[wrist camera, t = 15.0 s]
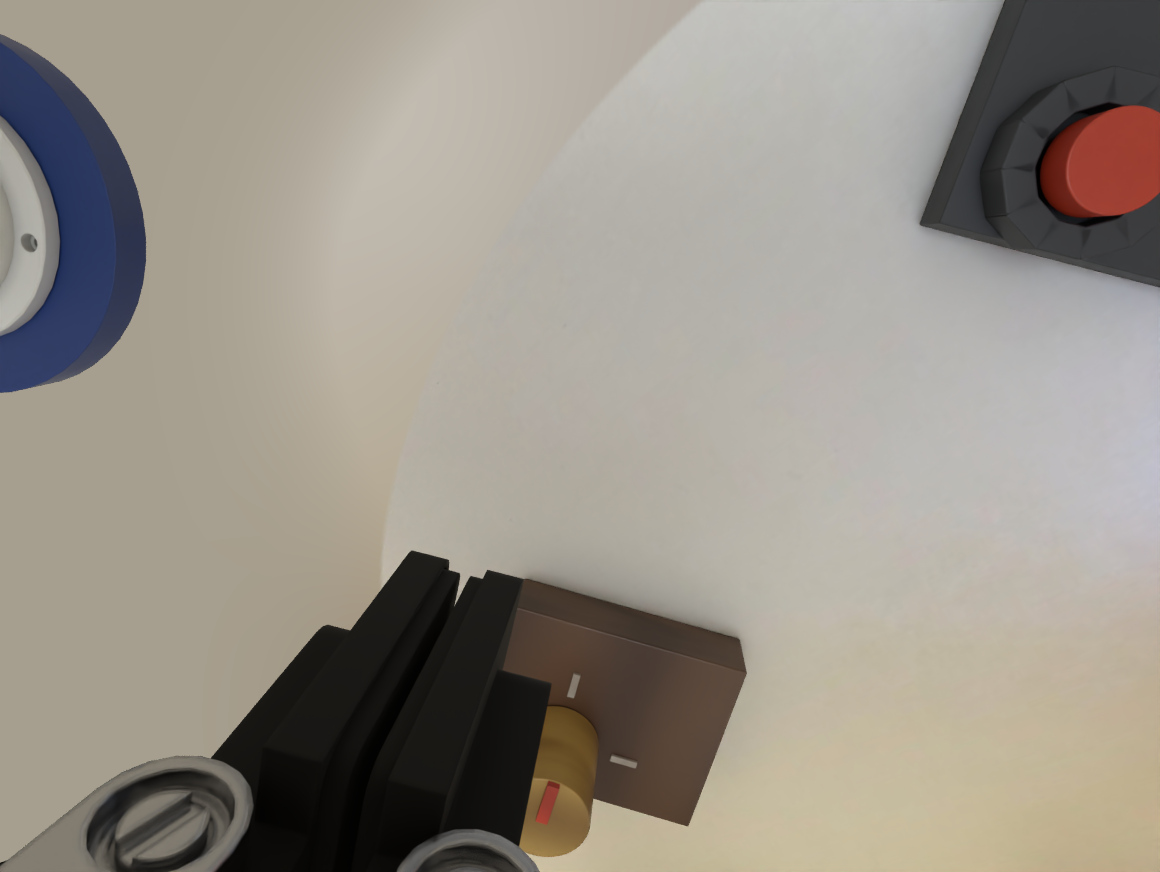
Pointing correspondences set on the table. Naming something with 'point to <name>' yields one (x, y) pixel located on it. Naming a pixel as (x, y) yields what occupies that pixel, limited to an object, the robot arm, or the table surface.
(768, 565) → the table surface
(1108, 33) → the button block
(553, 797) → the knob
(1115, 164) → the button
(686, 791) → the panel
